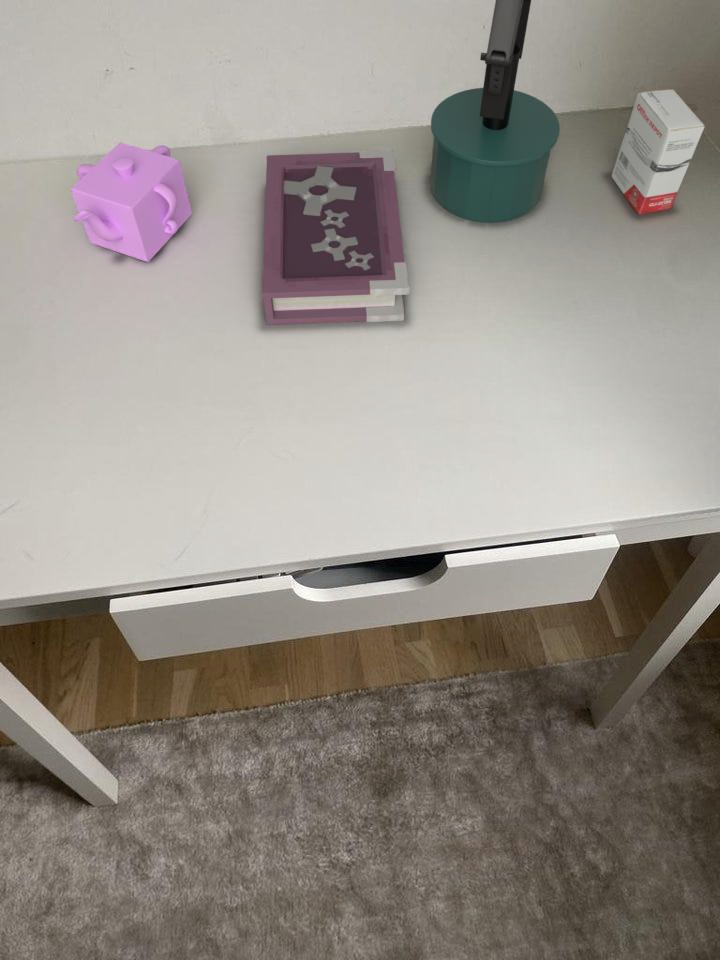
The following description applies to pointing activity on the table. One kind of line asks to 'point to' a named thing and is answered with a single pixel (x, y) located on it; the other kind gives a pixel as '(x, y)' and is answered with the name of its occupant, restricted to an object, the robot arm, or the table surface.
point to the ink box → (656, 150)
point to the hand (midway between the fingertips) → (501, 85)
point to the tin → (486, 187)
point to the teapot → (132, 200)
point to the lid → (496, 127)
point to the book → (333, 239)
